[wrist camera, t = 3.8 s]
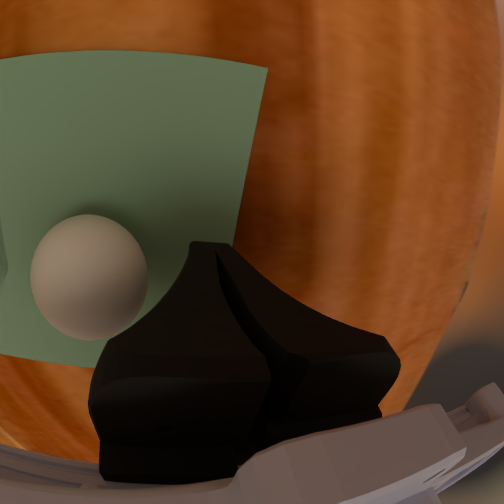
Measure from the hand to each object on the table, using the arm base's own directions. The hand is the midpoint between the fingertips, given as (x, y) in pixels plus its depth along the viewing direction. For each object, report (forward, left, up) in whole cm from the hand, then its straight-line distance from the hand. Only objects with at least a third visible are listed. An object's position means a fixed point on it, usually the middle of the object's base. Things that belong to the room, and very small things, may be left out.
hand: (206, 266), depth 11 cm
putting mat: (0, +9, -3) cm, 10 cm away
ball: (0, +4, +1) cm, 4 cm away
